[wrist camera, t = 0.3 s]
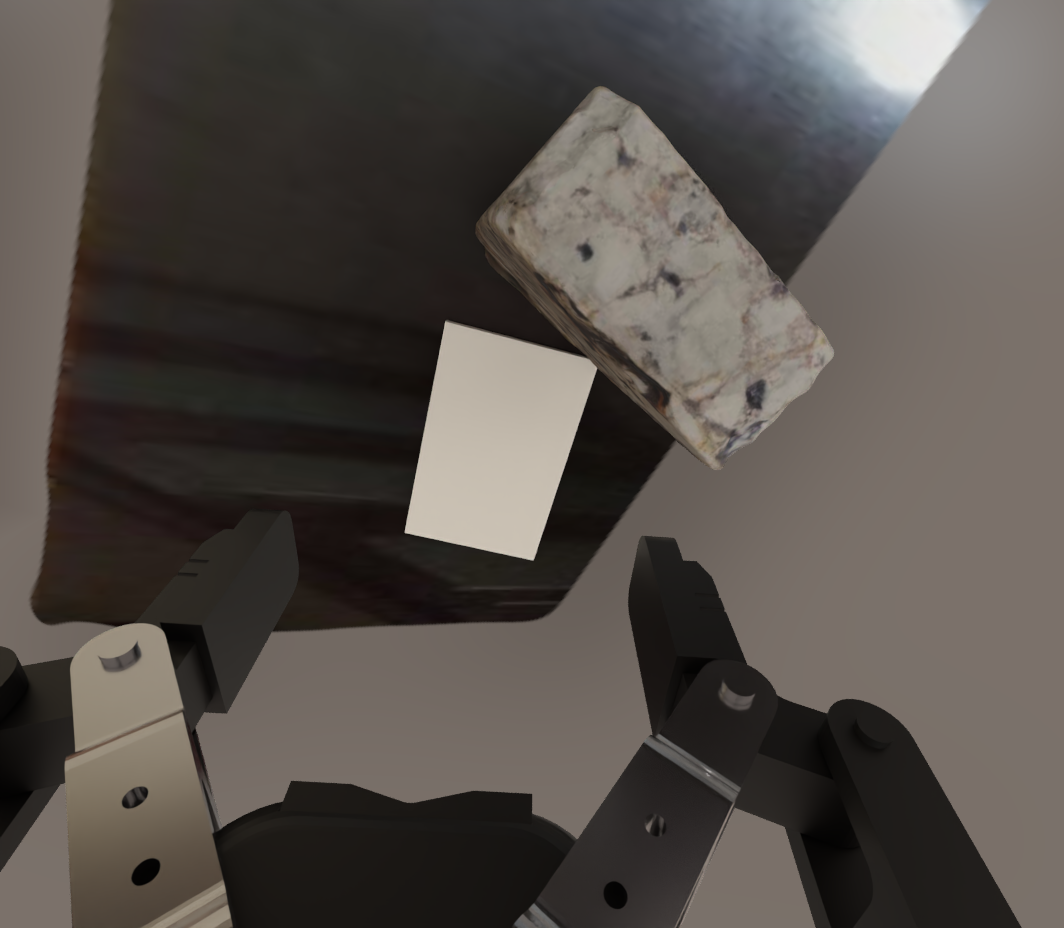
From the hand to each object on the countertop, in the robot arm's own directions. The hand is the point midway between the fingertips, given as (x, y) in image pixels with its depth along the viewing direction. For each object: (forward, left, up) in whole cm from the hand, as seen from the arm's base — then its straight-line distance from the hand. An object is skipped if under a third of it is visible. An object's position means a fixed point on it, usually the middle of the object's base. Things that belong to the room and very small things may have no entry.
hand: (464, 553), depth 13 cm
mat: (+12, +2, -29) cm, 31 cm away
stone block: (-2, +3, -28) cm, 29 cm away
